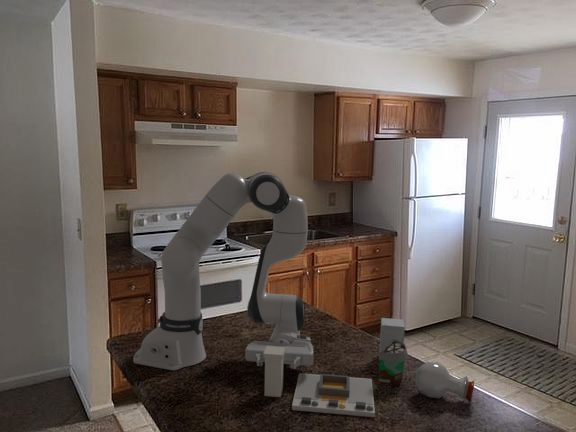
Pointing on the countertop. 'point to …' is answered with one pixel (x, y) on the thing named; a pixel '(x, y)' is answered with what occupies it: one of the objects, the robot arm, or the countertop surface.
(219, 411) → the countertop surface
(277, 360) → the plug
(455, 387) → the potion bottle
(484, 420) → the countertop surface
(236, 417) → the countertop surface
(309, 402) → the board
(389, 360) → the food container
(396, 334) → the supplement box
